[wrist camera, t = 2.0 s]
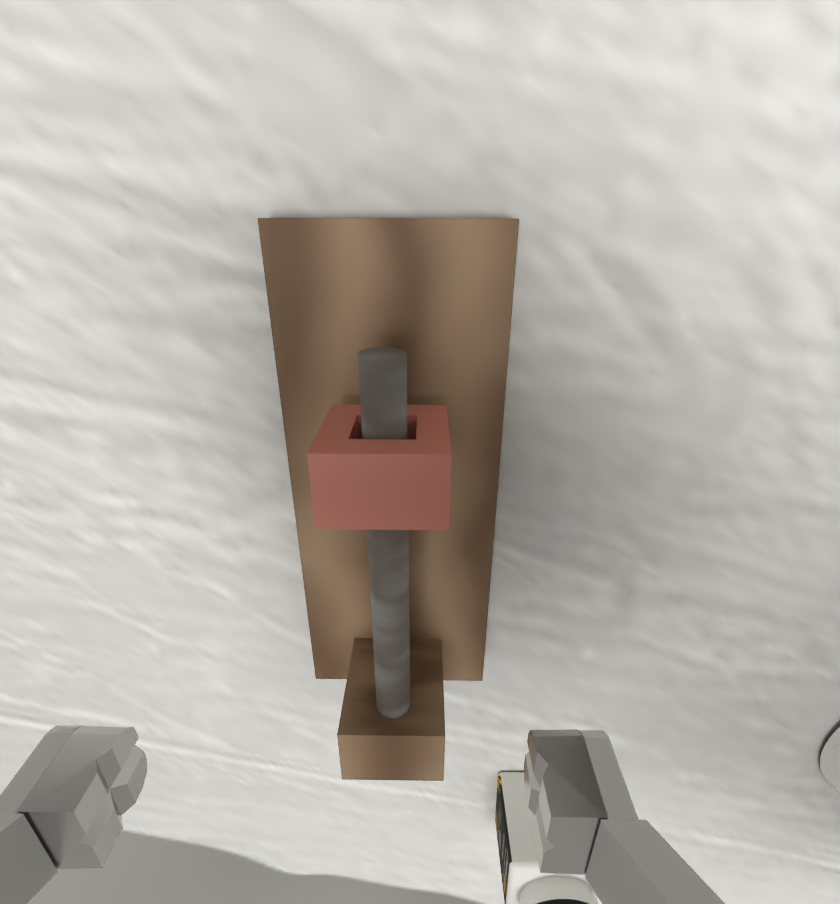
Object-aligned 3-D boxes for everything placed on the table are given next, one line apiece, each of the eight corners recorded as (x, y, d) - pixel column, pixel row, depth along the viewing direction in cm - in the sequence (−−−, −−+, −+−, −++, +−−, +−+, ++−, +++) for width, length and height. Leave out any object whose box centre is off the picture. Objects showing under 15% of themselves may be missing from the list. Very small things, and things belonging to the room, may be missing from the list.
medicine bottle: (497, 770, 43) (521, 956, 32) (580, 769, 43) (632, 957, 32) (494, 817, 46) (515, 1002, 35) (571, 817, 46) (616, 1003, 35)
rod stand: (512, 219, 24) (555, 217, 16) (479, 658, 37) (494, 781, 29) (270, 218, 24) (191, 216, 16) (321, 656, 37) (291, 778, 29)
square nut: (446, 405, 24) (451, 454, 19) (444, 468, 25) (448, 530, 20) (332, 404, 24) (306, 453, 19) (337, 467, 25) (314, 529, 20)
